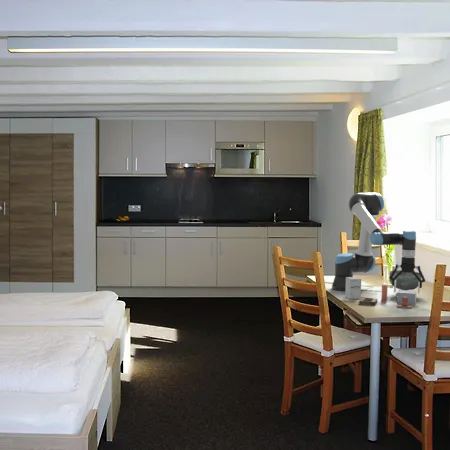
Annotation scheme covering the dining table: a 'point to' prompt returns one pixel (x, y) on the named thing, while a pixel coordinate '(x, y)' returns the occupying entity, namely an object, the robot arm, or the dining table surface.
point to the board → (405, 303)
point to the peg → (384, 293)
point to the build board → (368, 301)
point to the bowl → (405, 280)
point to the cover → (406, 293)
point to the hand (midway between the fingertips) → (406, 292)
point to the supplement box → (353, 288)
